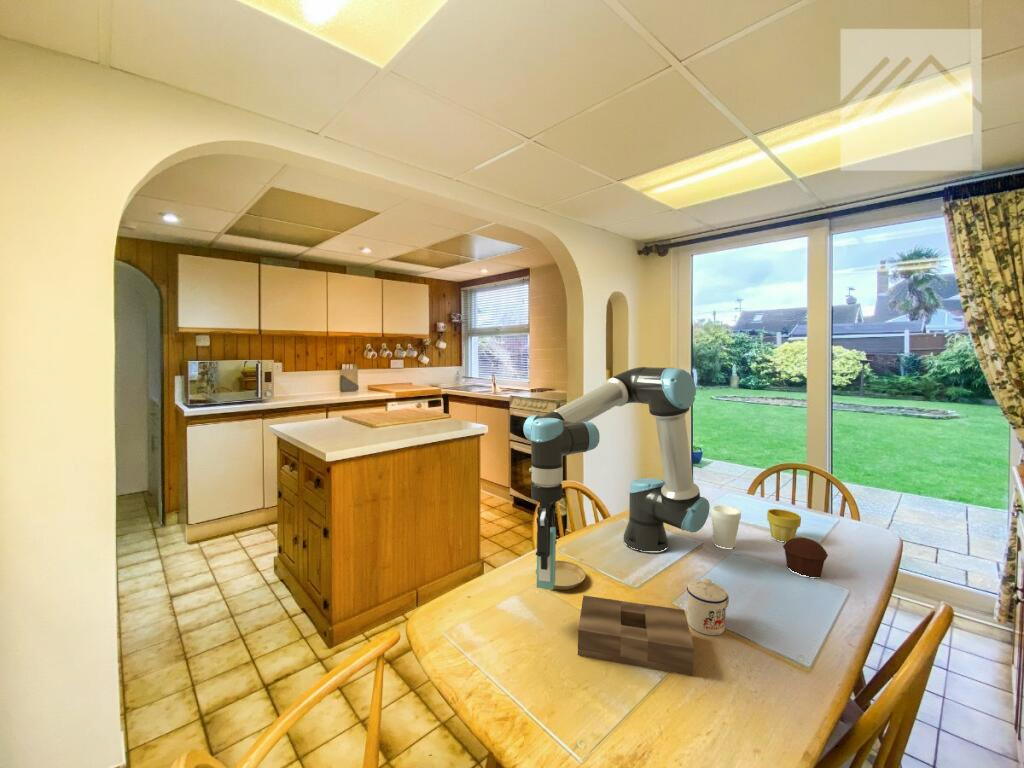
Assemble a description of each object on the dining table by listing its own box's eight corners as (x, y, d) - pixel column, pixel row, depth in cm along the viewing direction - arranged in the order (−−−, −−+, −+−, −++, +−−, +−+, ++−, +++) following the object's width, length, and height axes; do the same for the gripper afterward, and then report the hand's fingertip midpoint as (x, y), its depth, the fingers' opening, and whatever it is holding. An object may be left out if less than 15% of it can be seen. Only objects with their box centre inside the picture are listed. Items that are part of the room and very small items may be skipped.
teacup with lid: (706, 640, 100) (708, 593, 100) (677, 618, 109) (679, 574, 108) (742, 628, 105) (745, 582, 104) (712, 608, 114) (714, 565, 113)
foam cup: (703, 541, 154) (705, 506, 153) (724, 538, 157) (725, 503, 156) (724, 553, 145) (725, 515, 144) (745, 549, 148) (747, 513, 147)
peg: (539, 579, 108) (539, 525, 107) (555, 581, 107) (555, 527, 106) (536, 587, 104) (536, 531, 103) (553, 589, 103) (553, 533, 102)
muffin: (813, 563, 139) (815, 533, 138) (835, 581, 128) (837, 549, 127) (774, 561, 140) (776, 531, 139) (793, 579, 129) (795, 547, 128)
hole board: (582, 618, 109) (583, 595, 108) (683, 633, 103) (684, 609, 102) (577, 655, 95) (578, 629, 95) (693, 676, 89) (694, 648, 89)
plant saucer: (545, 597, 118) (545, 588, 118) (529, 571, 132) (529, 563, 132) (594, 590, 122) (594, 581, 122) (573, 565, 136) (573, 557, 136)
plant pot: (799, 537, 158) (800, 512, 157) (800, 548, 149) (801, 521, 149) (766, 531, 163) (767, 506, 163) (765, 541, 155) (767, 515, 154)
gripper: (537, 471, 113) (537, 557, 115) (523, 492, 96) (523, 592, 98) (566, 473, 111) (565, 560, 113) (557, 495, 94) (556, 596, 96)
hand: (546, 575), depth 105 cm, fingers closed on peg, 4 cm apart
